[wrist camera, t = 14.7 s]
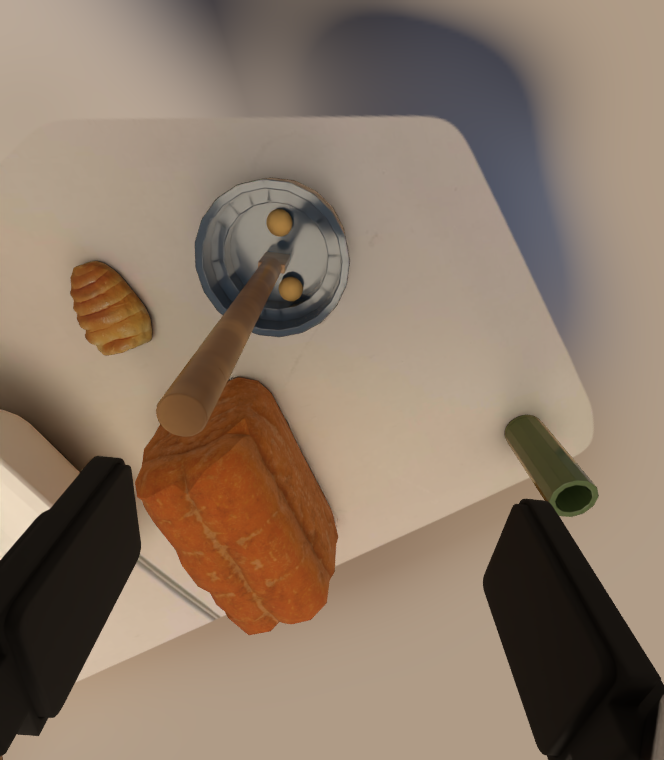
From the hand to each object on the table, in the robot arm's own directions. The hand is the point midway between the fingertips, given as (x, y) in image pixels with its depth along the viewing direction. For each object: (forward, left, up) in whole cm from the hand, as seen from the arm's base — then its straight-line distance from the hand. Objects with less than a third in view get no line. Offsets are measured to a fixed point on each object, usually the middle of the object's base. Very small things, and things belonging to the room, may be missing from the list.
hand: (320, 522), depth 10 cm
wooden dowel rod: (+5, +1, -35) cm, 35 cm away
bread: (+6, +28, -36) cm, 46 cm away
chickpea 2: (+3, +3, -34) cm, 34 cm away
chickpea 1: (+5, -3, -34) cm, 34 cm away
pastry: (+22, +8, -36) cm, 43 cm away
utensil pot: (-26, +18, -36) cm, 48 cm away
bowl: (+5, 0, -36) cm, 36 cm away
